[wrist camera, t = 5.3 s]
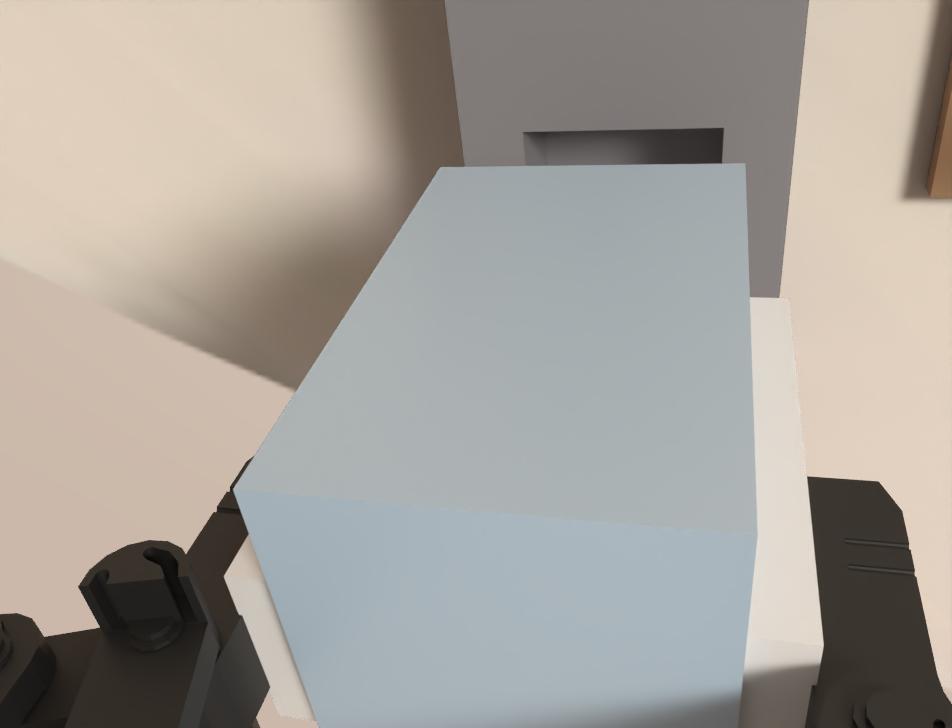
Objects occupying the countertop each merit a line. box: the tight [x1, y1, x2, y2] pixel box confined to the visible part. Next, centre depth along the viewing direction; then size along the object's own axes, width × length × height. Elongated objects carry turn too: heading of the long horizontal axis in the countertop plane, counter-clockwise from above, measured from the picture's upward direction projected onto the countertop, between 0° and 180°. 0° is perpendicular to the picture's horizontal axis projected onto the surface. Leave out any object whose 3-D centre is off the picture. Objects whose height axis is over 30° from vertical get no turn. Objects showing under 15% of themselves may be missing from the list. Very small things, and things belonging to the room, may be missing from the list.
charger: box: [233, 163, 758, 728], centre depth 14 cm, size 6×5×10 cm
